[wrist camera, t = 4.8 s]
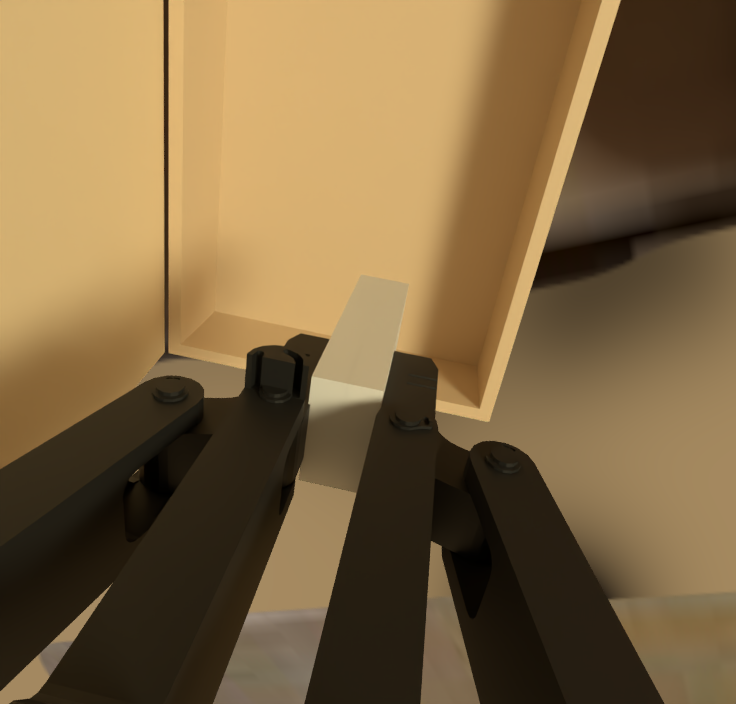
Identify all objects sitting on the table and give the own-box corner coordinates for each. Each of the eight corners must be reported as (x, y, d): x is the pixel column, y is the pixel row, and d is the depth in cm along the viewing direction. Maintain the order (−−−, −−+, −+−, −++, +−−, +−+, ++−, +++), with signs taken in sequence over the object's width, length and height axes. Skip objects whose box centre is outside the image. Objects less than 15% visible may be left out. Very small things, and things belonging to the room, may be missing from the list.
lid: (162, -263, 18) (143, -267, 18) (-761, -1506, 4) (-855, -1528, 4) (164, 352, 28) (152, 350, 28) (-83, 649, 14) (-108, 645, 14)
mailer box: (226, -195, 22) (168, -262, 18) (633, -131, 22) (677, -184, 17) (208, 316, 33) (168, 354, 28) (484, 374, 32) (488, 423, 27)
